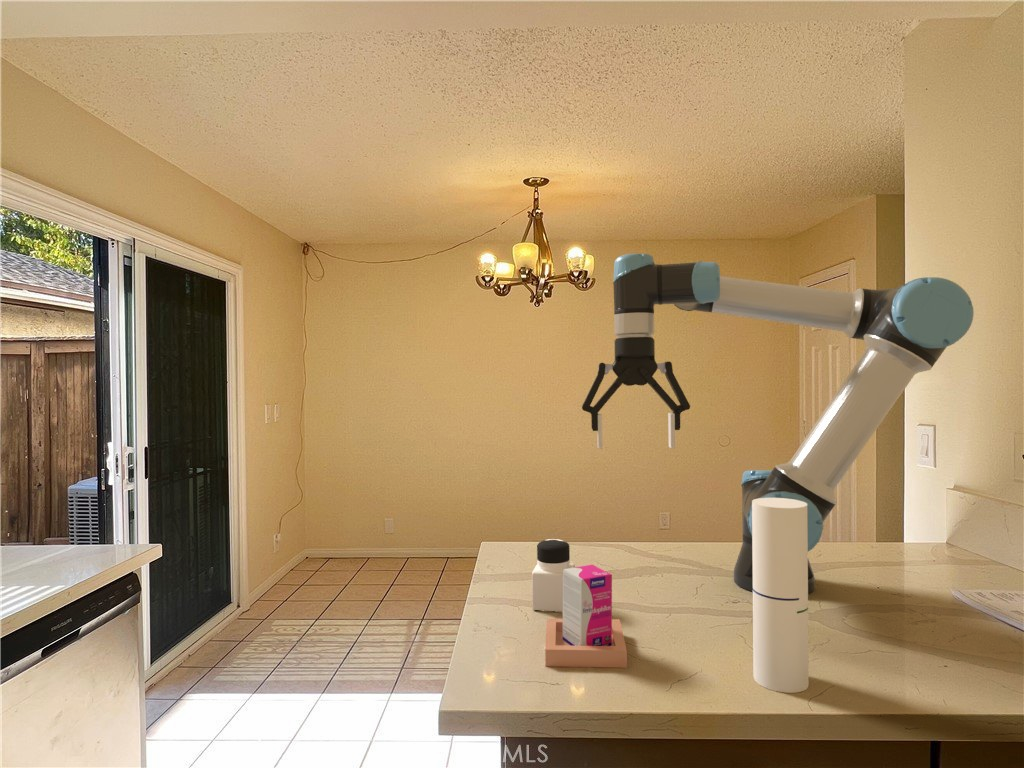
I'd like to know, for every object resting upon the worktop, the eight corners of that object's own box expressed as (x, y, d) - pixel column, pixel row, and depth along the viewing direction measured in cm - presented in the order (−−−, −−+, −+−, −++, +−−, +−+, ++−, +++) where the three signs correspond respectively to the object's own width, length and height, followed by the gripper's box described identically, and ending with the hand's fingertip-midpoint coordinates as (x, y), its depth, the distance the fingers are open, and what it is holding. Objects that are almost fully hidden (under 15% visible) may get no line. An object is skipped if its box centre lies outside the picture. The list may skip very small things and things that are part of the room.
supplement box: (581, 654, 98) (580, 579, 98) (561, 640, 103) (560, 568, 103) (613, 646, 101) (612, 573, 100) (592, 632, 106) (591, 563, 106)
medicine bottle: (571, 613, 117) (570, 547, 117) (532, 611, 119) (530, 545, 118) (575, 599, 124) (574, 537, 124) (538, 597, 126) (537, 535, 125)
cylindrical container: (744, 669, 94) (743, 498, 94) (791, 667, 95) (790, 496, 94) (768, 694, 87) (766, 509, 87) (819, 691, 88) (817, 507, 87)
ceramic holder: (619, 634, 108) (619, 619, 108) (627, 667, 96) (626, 650, 96) (547, 633, 109) (547, 618, 109) (545, 666, 97) (545, 649, 97)
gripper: (696, 336, 127) (697, 444, 127) (568, 339, 129) (570, 445, 129) (705, 334, 119) (706, 449, 120) (568, 337, 121) (570, 450, 122)
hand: (635, 448), depth 125 cm, fingers open, 13 cm apart
